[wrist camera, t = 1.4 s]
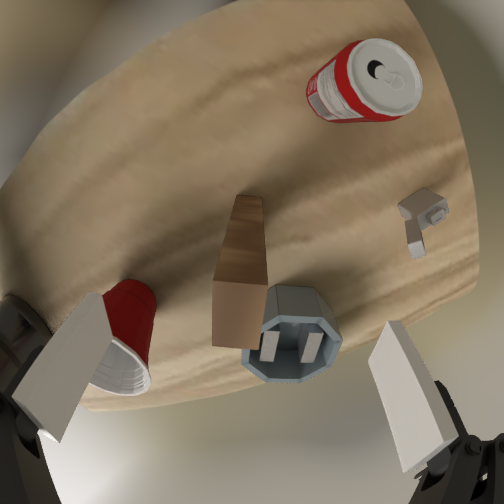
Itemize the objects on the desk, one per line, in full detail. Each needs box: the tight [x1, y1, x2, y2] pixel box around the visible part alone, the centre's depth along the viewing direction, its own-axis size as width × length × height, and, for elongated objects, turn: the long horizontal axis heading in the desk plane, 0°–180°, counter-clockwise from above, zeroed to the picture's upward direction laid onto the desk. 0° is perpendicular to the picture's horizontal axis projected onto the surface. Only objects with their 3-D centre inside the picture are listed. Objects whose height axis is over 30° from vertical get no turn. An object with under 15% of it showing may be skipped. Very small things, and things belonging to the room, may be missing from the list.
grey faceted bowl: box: [241, 285, 343, 383], centre depth 30 cm, size 11×11×6 cm
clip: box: [259, 323, 324, 363], centre depth 30 cm, size 6×5×4 cm
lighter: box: [398, 188, 449, 259], centre depth 23 cm, size 7×2×8 cm, turn 123°
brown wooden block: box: [212, 195, 268, 350], centre depth 20 cm, size 2×4×16 cm, turn 175°
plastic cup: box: [88, 279, 156, 396], centre depth 26 cm, size 11×11×12 cm
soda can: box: [306, 38, 423, 123], centre depth 16 cm, size 6×6×12 cm
